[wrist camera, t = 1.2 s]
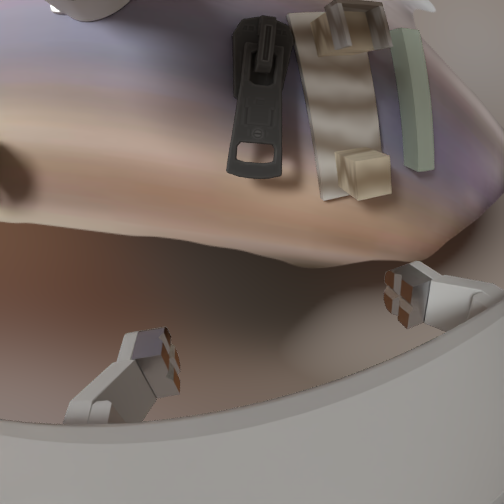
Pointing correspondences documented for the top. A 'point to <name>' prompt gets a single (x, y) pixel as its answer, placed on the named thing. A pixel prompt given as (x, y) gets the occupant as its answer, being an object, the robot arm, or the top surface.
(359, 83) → the rail posts
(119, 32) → the top surface
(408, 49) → the rail
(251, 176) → the zipper pull
